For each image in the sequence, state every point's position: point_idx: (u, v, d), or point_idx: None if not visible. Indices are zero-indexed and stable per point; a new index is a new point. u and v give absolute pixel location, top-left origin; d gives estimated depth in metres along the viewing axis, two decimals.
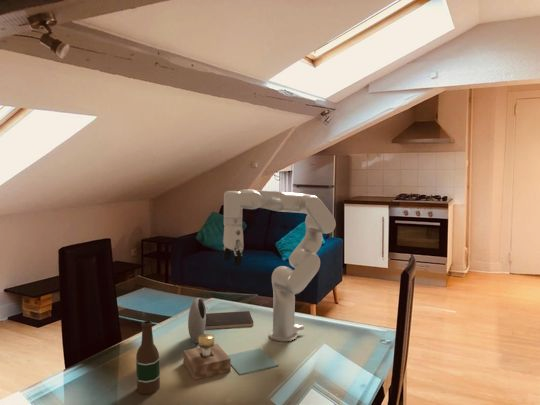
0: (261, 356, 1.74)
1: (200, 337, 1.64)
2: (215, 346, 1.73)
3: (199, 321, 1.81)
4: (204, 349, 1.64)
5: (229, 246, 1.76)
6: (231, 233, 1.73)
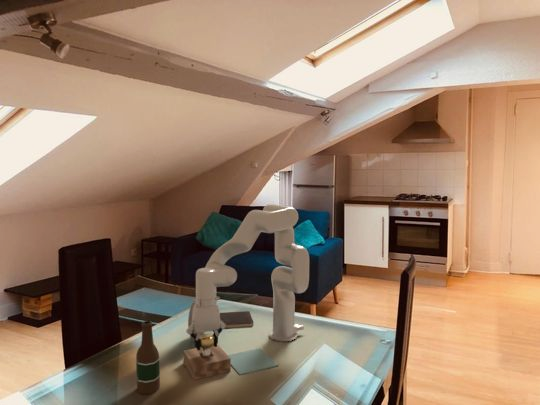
0: (261, 356, 1.74)
1: (200, 337, 1.64)
2: None
3: None
4: (204, 349, 1.64)
5: (211, 328, 1.63)
6: (217, 312, 1.63)
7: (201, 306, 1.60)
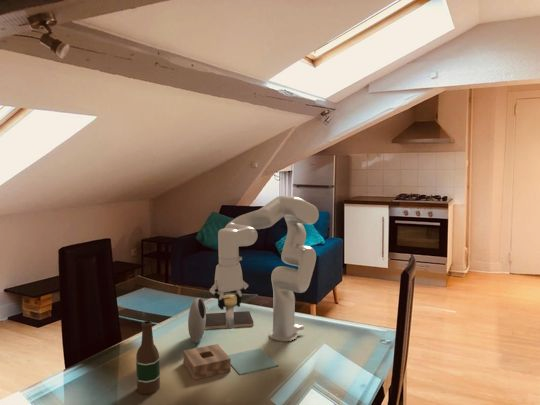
0: (261, 356, 1.74)
1: (223, 297, 1.65)
2: (215, 346, 1.73)
3: (199, 321, 1.81)
4: (227, 309, 1.65)
5: (234, 287, 1.64)
6: (240, 272, 1.64)
7: (224, 265, 1.61)
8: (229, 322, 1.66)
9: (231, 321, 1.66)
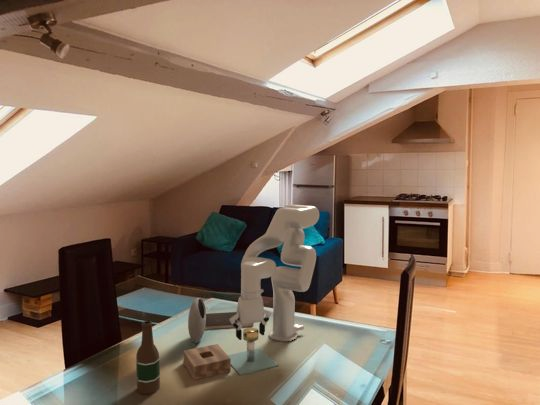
0: (261, 356, 1.74)
1: (245, 331, 1.69)
2: (215, 346, 1.73)
3: (199, 321, 1.81)
4: (249, 342, 1.69)
5: (256, 319, 1.68)
6: (262, 304, 1.68)
7: (247, 298, 1.65)
8: (250, 356, 1.69)
9: (252, 355, 1.70)
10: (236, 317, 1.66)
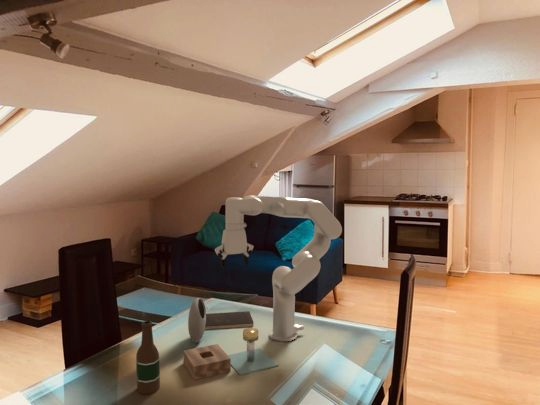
0: (261, 356, 1.74)
1: (245, 331, 1.69)
2: (215, 346, 1.73)
3: (199, 321, 1.81)
4: (249, 343, 1.69)
5: (239, 250, 1.82)
6: (244, 237, 1.83)
7: (230, 230, 1.79)
8: (250, 356, 1.69)
9: (252, 355, 1.70)
10: (221, 247, 1.80)
